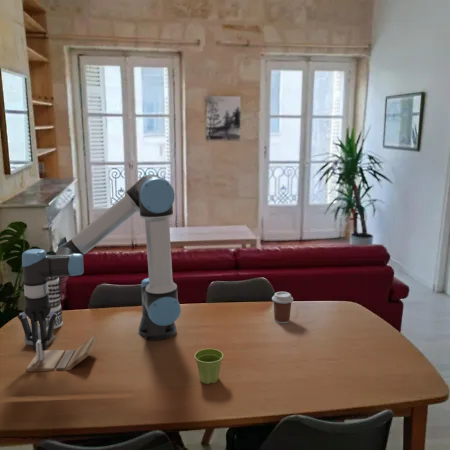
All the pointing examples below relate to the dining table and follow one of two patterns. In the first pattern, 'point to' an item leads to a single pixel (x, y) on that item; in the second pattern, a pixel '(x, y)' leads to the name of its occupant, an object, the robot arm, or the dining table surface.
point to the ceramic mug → (39, 337)
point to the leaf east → (46, 361)
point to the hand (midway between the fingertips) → (40, 358)
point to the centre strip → (65, 360)
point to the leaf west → (81, 352)
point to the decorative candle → (54, 301)
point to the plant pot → (209, 364)
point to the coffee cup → (282, 306)
